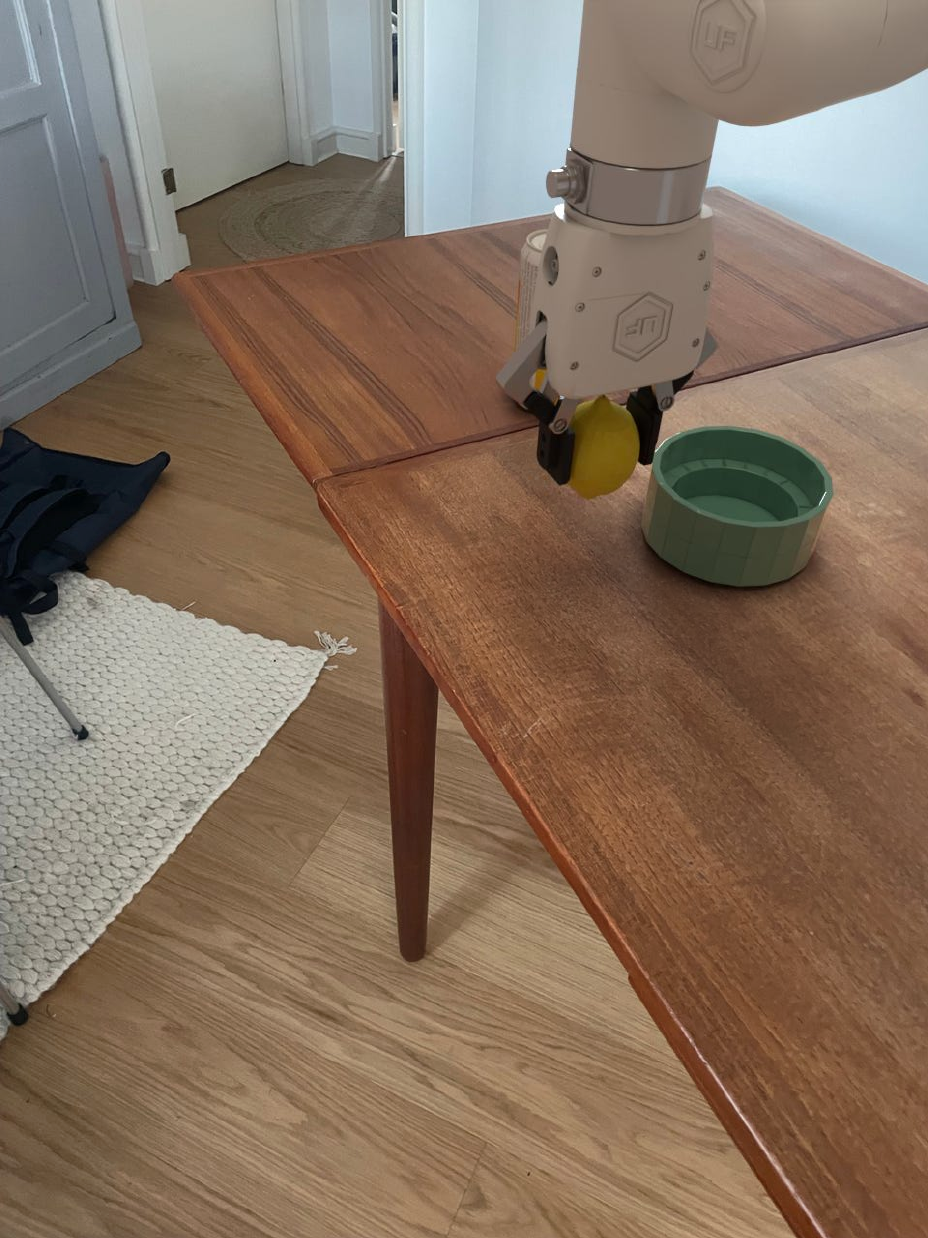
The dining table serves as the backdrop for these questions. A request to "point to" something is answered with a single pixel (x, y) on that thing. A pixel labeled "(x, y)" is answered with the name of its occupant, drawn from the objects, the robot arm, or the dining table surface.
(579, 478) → the fruit
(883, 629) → the dining table surface
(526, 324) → the beer can
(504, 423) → the dining table surface
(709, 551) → the green pet bowl
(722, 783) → the dining table surface
